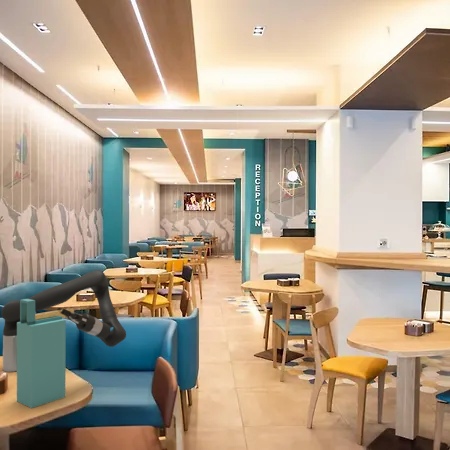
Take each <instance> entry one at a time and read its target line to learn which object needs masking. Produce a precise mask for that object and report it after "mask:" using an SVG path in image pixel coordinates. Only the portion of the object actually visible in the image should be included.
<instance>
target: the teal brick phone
mask: <svg viewBox="0 0 450 450" xmlns="http://www.w3.org/2000/svg"><path fill="white" fill-rule="evenodd" d="M19 301H20V322H17V371H16V402H18V403H20V405H21V404H22V405H24V406H26V407H28V408H30V409H33V408H36V407H39V406H43V405H45V404H46V405H47V404H49V403H51V402H55V401H58V400H61V399H63V398H66V360H67V359H66V354H67V353H66V339H67V338H66V321H67V319H65V318H62V316H58V317H53V318H47V319H41V320H36V321H35V314H36V312H35V300H31V299H28V298H23V299H20V300H19ZM26 316H27V323H26Z"/></svg>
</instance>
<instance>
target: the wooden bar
mask: <svg viewBox="0 0 450 450" xmlns="http://www.w3.org/2000/svg"><path fill="white" fill-rule="evenodd" d="M61 309H62V310H63V309H64V308H61ZM65 309H66V310H68V311H70V313H71V312H73V313H75V308H72V307H70V308H69V307H68V308H65ZM62 310H57V309H56V310H52V311H45V312H40V313H35V321H36V320H41V319H47V318H53V317H58V316H62V319H66V318H65V317H68V316H65V315H63V314H61V312H62ZM26 323H27V316H26Z"/></svg>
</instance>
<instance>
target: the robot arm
mask: <svg viewBox="0 0 450 450" xmlns="http://www.w3.org/2000/svg"><path fill="white" fill-rule="evenodd" d="M89 288H90V289H91V290H92V291H93V294H94V295H95V298H96V300H97V303H98V307H99V308H98V309H99V310H98V311H99V314H100V317H101V320H100V319H98V318H97V317H95V316H92V315H91V314H89V313H87V312H86V313H85V312H84V313H82V314H80V313H77V312H74V313H73V312H71V313H70V311H68V310H66V309H67V308H61V307H57V309H56V310H62V309H63V310H62V312H61V314H63V315H65V316H68V317H65V318H64V319H65V320H66V321H67V320H68V321H70V322H71V323H73V324H75V326H76V329H78V330H79V331H82V332H84V333H86V334H88V335H91V336H94V337H97V338H98V339H99V340H101V342H103V343H104V344H105V345H106V347H109V348H113V347H115V346H117V345H119V344H121V342H123V341H124V340H125V339H126V337H127V332H126V330H125V328H124V327H123V325H122V323H120V321H119V318H118V316H117V313H116V309H115V308H114V305H113V302H112V300H111V299H112V298H111V296H110V290H109V281H108V278H107V276H106V274H105V273H104V271H103V270H101V269H94V270H92V271H89V272H87V273H84V274H83V275H81V276H78V277H77V278H74V279H71V280H68V281H66V282H64V283H59V284H57V285H54V286H52V287H48V288H46V289H44V290H42V291H40V292H37V293H35V294H34V295H33V296H30V297H27V299H31V300H35V313H36V312H38V311H43V310H46V309H49V308H53V307H56V306H59V305H61V304H63V303H66V302H68V301H69V300H70V299H71V298H73V297H74V296H76V294H78V293H80V292H81V291H84V290H86V289H89ZM0 313H1V318H2V319H3V320H4V326H3V328H2V329H3V330H2V337H3V338H2V371H3V372H7V373H8V372H9V373H13V372H17V322H20V300H17V299H16V300H15V299H14V300H10V301H9V302H8V303H5V305H4V306H3V307H2V308H1V312H0ZM111 328H112V329H111Z"/></svg>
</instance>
